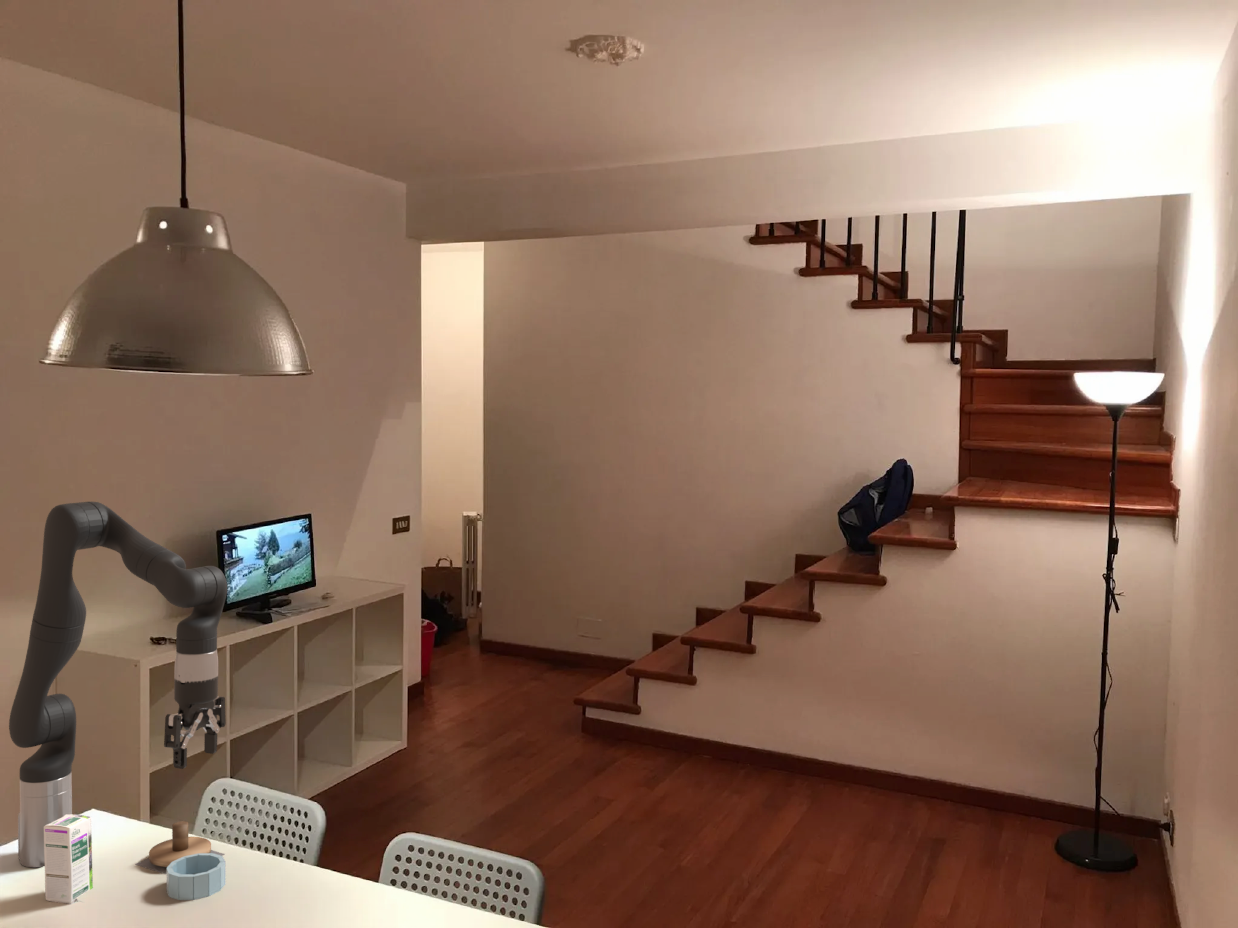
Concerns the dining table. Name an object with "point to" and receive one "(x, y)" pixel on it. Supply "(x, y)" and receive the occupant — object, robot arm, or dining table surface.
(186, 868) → the bowl
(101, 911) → the dining table surface
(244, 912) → the dining table surface
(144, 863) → the mat
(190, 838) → the lid
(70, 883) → the syrup box
